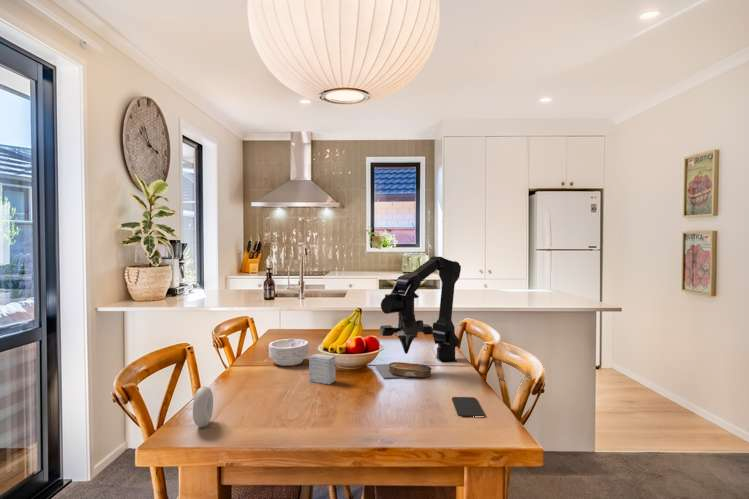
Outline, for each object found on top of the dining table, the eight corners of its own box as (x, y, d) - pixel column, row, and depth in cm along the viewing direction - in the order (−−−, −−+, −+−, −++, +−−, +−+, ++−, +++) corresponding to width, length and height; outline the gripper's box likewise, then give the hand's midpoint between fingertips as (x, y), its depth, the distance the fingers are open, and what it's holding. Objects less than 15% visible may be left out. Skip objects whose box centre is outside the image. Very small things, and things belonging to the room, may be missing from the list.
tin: (430, 365, 167) (432, 370, 158) (429, 374, 166) (431, 379, 158) (389, 361, 167) (389, 365, 159) (388, 369, 167) (388, 374, 159)
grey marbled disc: (201, 418, 123) (201, 381, 123) (214, 417, 123) (214, 380, 123) (190, 434, 113) (190, 394, 113) (205, 433, 113) (205, 393, 113)
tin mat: (397, 365, 175) (397, 363, 175) (408, 377, 159) (408, 376, 159) (374, 366, 173) (374, 364, 173) (383, 379, 158) (383, 377, 158)
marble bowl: (260, 365, 173) (260, 345, 173) (283, 356, 187) (283, 337, 187) (295, 370, 167) (295, 349, 167) (315, 360, 181) (315, 340, 181)
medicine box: (335, 381, 155) (335, 356, 155) (329, 385, 151) (329, 359, 151) (315, 378, 158) (315, 353, 158) (308, 381, 154) (308, 356, 154)
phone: (475, 397, 140) (485, 415, 125) (475, 399, 140) (485, 418, 125) (451, 396, 140) (458, 415, 125) (451, 399, 140) (458, 418, 125)
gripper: (386, 315, 157) (385, 360, 158) (438, 313, 161) (437, 358, 161) (379, 310, 168) (379, 352, 169) (428, 309, 172) (427, 350, 172)
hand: (406, 353), depth 167 cm, fingers closed
